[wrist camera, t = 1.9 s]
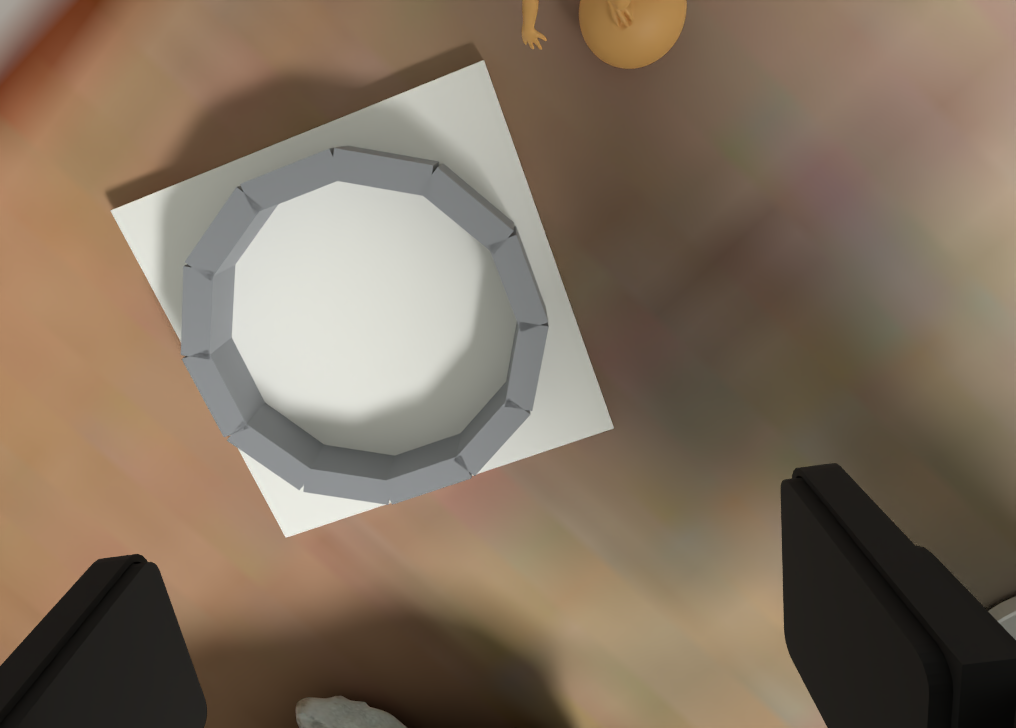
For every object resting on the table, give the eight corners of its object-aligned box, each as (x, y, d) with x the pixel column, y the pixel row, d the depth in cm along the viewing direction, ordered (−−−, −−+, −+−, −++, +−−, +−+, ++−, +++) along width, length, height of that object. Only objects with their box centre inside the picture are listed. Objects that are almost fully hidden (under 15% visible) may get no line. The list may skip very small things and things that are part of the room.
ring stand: (484, 61, 30) (481, 54, 27) (611, 421, 35) (621, 451, 32) (120, 208, 32) (77, 218, 29) (290, 528, 37) (270, 566, 34)
